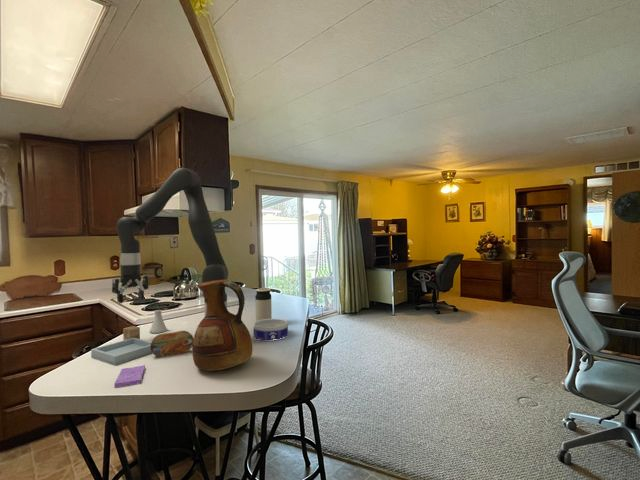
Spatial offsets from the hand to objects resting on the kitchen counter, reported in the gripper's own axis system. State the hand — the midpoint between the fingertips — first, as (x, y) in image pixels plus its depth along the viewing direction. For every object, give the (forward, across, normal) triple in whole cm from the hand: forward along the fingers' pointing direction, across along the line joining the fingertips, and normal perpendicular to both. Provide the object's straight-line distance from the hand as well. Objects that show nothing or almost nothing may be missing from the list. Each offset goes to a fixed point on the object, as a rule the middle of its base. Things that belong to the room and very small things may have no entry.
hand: (131, 301), depth 139 cm
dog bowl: (+18, +35, -48) cm, 62 cm away
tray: (+17, -10, -13) cm, 24 cm away
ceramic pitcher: (+17, 0, -55) cm, 58 cm away
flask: (+18, +15, +4) cm, 24 cm away
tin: (+18, -1, -29) cm, 34 cm away
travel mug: (+17, +48, -33) cm, 61 cm away
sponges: (+18, -21, -36) cm, 45 cm away
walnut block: (+18, 0, 0) cm, 18 cm away
